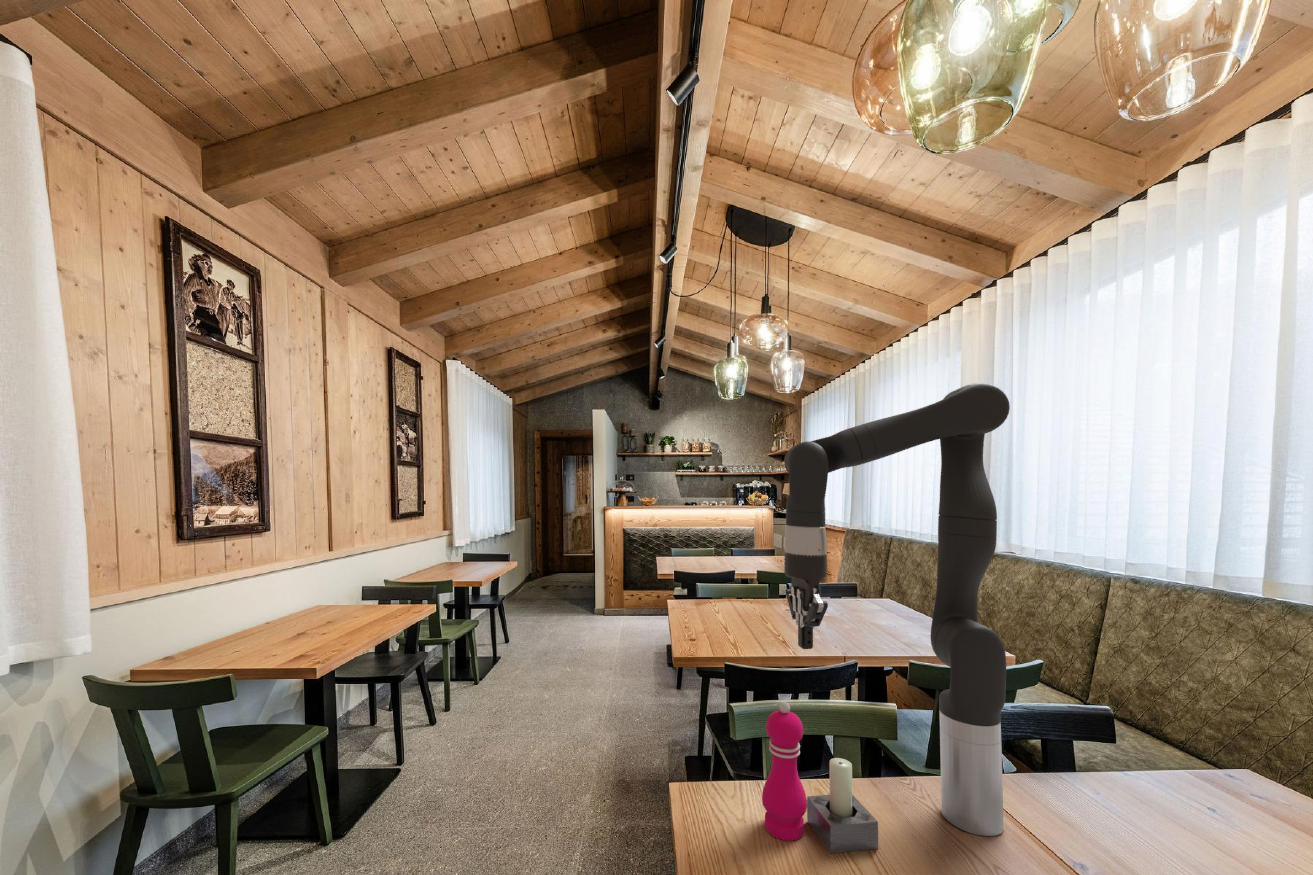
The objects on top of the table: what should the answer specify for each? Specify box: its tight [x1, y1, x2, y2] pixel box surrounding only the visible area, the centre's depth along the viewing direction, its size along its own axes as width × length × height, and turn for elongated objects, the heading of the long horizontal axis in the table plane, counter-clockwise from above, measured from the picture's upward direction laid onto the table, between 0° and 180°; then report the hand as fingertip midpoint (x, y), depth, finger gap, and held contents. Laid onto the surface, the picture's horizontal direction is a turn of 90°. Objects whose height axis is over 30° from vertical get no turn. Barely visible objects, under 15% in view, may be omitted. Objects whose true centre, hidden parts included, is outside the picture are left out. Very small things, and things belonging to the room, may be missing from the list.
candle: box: [829, 757, 853, 818], centre depth 88 cm, size 4×4×10 cm
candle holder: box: [806, 793, 879, 854], centre depth 88 cm, size 8×8×4 cm
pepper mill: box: [761, 701, 807, 842], centre depth 90 cm, size 7×7×20 cm
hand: (805, 647), depth 98 cm, fingers closed
